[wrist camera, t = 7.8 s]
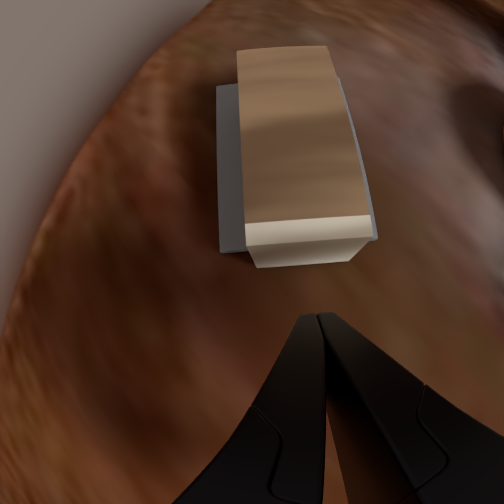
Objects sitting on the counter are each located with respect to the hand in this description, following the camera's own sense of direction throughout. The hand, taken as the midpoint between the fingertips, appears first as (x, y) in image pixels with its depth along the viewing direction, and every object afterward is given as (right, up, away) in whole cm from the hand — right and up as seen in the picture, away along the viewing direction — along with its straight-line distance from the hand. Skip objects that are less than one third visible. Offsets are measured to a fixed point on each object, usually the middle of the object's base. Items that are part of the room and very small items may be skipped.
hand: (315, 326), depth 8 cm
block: (+1, +2, +5) cm, 5 cm away
